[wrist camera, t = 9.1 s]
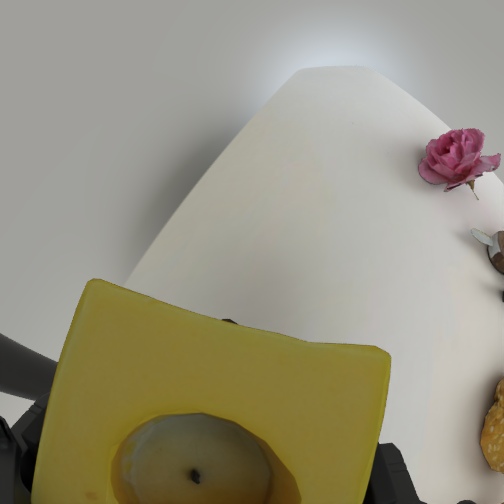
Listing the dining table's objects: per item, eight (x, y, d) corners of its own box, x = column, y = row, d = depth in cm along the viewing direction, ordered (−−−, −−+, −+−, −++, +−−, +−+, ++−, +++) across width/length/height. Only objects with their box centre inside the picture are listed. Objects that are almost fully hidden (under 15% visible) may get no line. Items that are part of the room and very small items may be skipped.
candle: (158, 344, 17) (86, 266, 9) (319, 381, 16) (399, 336, 8) (118, 487, 12) (16, 524, 3) (283, 530, 11) (323, 618, 3)
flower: (405, 195, 35) (404, 121, 31) (444, 189, 38) (444, 125, 34) (474, 218, 25) (478, 127, 21) (504, 207, 28) (507, 133, 24)
